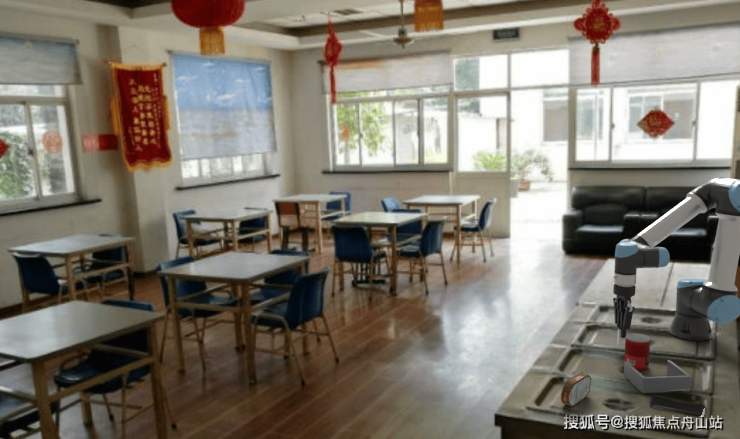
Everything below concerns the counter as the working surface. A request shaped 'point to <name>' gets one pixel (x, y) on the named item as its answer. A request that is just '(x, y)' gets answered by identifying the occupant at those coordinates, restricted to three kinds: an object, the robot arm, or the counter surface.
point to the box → (659, 379)
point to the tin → (576, 389)
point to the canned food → (637, 350)
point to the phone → (676, 405)
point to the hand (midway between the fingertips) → (621, 344)
